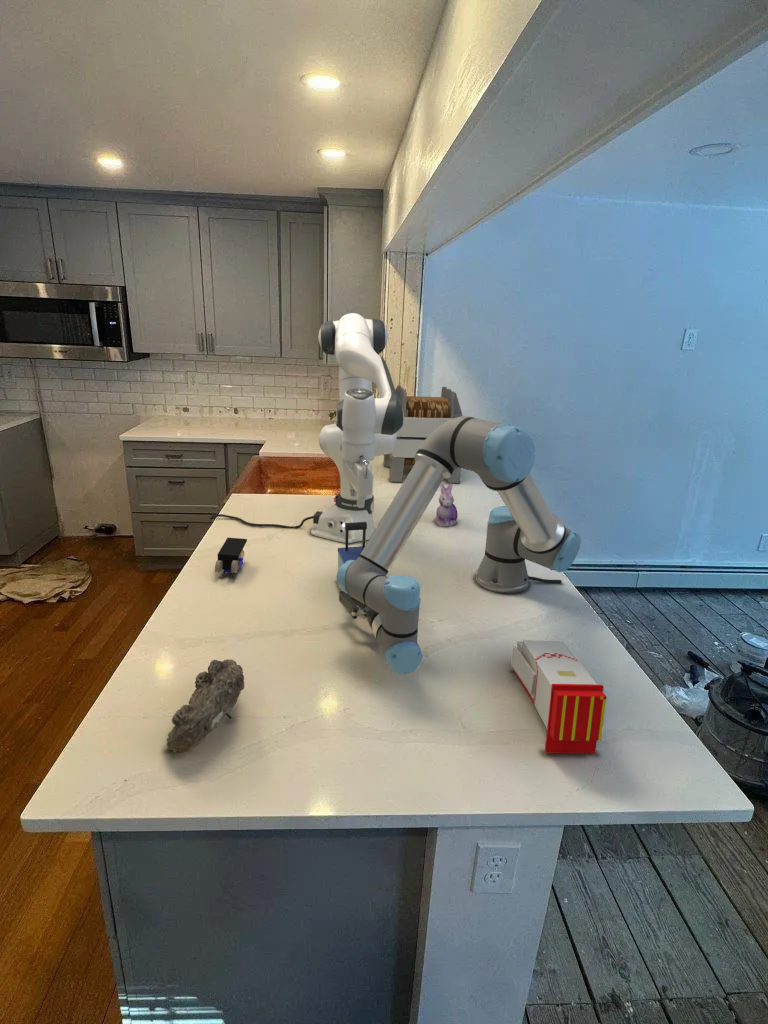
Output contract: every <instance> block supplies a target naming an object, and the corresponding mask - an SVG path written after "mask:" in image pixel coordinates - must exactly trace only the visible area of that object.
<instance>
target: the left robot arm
mask: <svg viewBox="0 0 768 1024" xmlns="http://www.w3.org/2000/svg"><path fill="white" fill-rule="evenodd" d="M385 324H386V323H385V322H384V321H383V320H382V319H378V318H371V319H370V318H365V317H364V316H362V315H360V314H359V313H354V312H351V313H346V314H344V315H343V316H342V317H340V319H339V320H329V321H325V322H323V323H322V324H321V325H320V328H319V331H318V335H317V336H318V337H317V339H318V344H319V346H320V349H321V351H322V352H323V353H324V354H325V355H330V356H335V359H336V363H337V364H338V393H339V394H338V395H339V396H338V397H339V402H338V403H337V404H336V406H335V409H336V422H335V423H330V424H326V425H323V427H322V429H321V430H320V432H319V435H318V445H319V447H320V450H321V451H322V452H323V453H324V454H325V455H326V456H328V457H329V458H330V459H331V460H332V462H333V463H334V464H335V466H336V467H337V470H338V474H339V483H340V484H339V485H340V488H339V489H340V490H339V491H338V492H337V494H336V495H335V496H334V497H333V502H334V504H333V505H331V506H329V507H328V508H326V509H325V510H323V511H320V510H319V511H318V510H317V511H316V512H315V513H314V514H313V515H312V516H307V517H305V518H304V519H302V521H301V522H300V524H298V525H295V526H290V525H283V524H277V523H254V522H249V521H246V520H244V519H242V518H240V517H237V516H232V515H228V514H221V513H219V514H214V515H211V516H210V518H209V520H214V519H215V518H219V517H221V518H228V519H232V520H237V521H240V522H241V523H243V524H245V525H248V526H251V527H252V526H253V527H274V528H275V527H276V528H284V529H300V528H301V527H302V526H303V525H304V523H305V522H307V521H308V520H312V523H313V524H314V525H313V526H312V528H311V530H310V533H311V536H315V537H319V538H323V539H326V540H330V541H336V542H339V543H343V544H345V538H346V531H345V523H353V522H366V523H367V529H366V537H365V541H369V539H370V537H371V536H372V534H373V532H374V531H375V529H376V527H375V523H374V513H373V512H374V509H375V496H374V474H373V468H372V466H371V465H370V464H371V463H370V462H372V461H374V460H375V457H380V456H384V455H385V454H390V453H391V452H392V451H393V450H394V448H395V446H396V442H397V436H396V432H397V431H399V430H400V429H401V428H402V426H403V421H404V413H403V409H402V405H401V403H400V401H399V399H398V397H397V394H396V391H395V390H396V388H395V385H394V382H393V379H392V376H391V372H390V370H389V367H388V363H387V362H386V360H385V358H384V357H382V356H381V355H379V354H381V353H382V352H383V351H384V350H385V348H386V346H387V343H388V339H389V334H388V329H387V327H386V325H385ZM373 383H374V385H375V386H376V388H377V391H378V394H379V397H380V398H379V397H375V394H374V391H373ZM362 539H363V530H351V531H349V532H348V544H352V543H357V542H362Z"/></svg>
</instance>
